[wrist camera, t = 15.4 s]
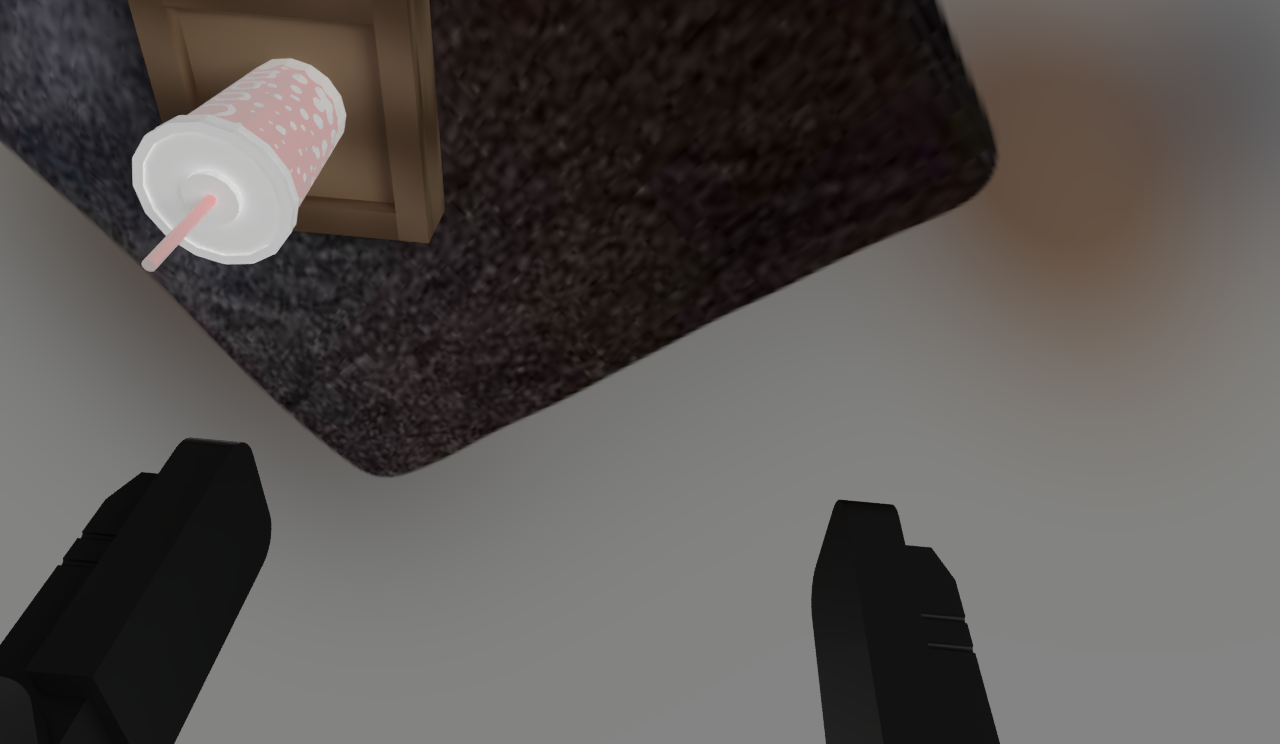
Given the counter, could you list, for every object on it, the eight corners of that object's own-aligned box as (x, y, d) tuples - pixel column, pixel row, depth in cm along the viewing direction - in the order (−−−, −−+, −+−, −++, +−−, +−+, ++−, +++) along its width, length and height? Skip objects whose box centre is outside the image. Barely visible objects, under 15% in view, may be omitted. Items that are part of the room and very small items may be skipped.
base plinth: (158, -56, 40) (117, -35, 37) (426, -32, 39) (405, -9, 37) (219, 189, 47) (189, 221, 44) (444, 209, 47) (428, 243, 44)
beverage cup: (358, 52, 39) (225, 199, 28) (366, 177, 43) (251, 349, 32) (220, 30, 39) (31, 170, 28) (239, 158, 43) (80, 324, 32)
